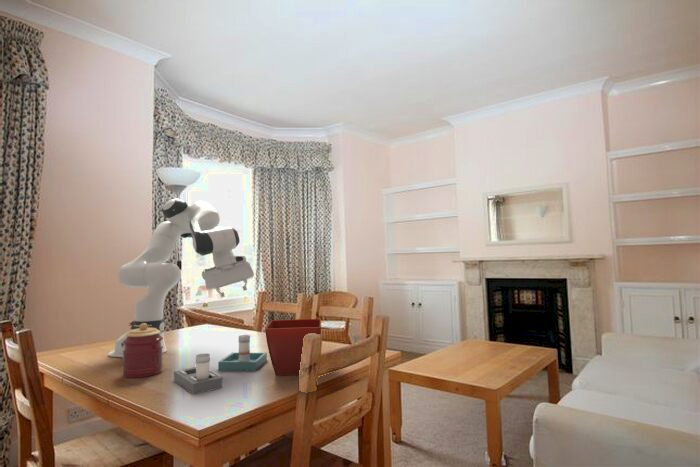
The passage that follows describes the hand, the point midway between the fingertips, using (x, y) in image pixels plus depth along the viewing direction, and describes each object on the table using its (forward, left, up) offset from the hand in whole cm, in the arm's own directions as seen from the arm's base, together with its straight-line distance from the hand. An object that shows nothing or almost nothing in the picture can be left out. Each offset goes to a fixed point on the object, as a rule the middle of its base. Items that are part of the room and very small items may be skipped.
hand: (234, 293), depth 169 cm
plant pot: (+31, -22, -26) cm, 46 cm away
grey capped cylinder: (+10, -16, -25) cm, 31 cm away
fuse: (+5, -42, -25) cm, 49 cm away
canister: (-23, -27, -26) cm, 44 cm away
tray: (+10, -16, -25) cm, 32 cm away
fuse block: (+2, -39, -25) cm, 46 cm away
